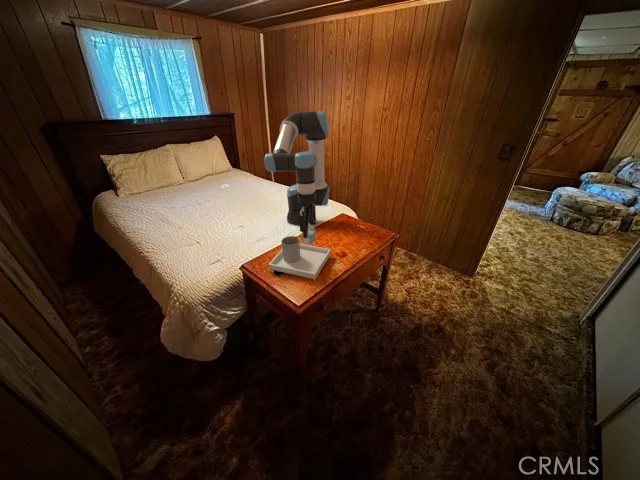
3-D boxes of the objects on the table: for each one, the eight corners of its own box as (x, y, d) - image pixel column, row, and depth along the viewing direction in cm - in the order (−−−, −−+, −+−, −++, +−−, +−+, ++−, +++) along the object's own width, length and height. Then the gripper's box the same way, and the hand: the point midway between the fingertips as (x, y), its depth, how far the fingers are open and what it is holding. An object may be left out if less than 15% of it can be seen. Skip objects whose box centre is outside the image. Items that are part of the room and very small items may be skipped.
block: (306, 237, 119) (305, 228, 117) (316, 239, 118) (315, 229, 115) (301, 242, 115) (301, 233, 113) (312, 244, 114) (311, 234, 111)
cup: (297, 263, 121) (296, 245, 116) (281, 261, 123) (279, 244, 118) (302, 253, 129) (300, 236, 124) (286, 252, 130) (284, 235, 125)
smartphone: (257, 266, 125) (278, 277, 117) (257, 264, 125) (278, 276, 116) (269, 259, 130) (289, 269, 122) (269, 257, 130) (289, 268, 121)
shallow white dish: (290, 248, 138) (289, 241, 136) (331, 256, 130) (331, 249, 128) (269, 271, 120) (268, 264, 118) (315, 282, 113) (314, 274, 111)
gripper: (306, 184, 113) (309, 230, 125) (288, 198, 99) (293, 248, 110) (322, 185, 111) (323, 232, 122) (305, 200, 96) (308, 251, 108)
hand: (309, 240), depth 116 cm, fingers closed on block, 5 cm apart
